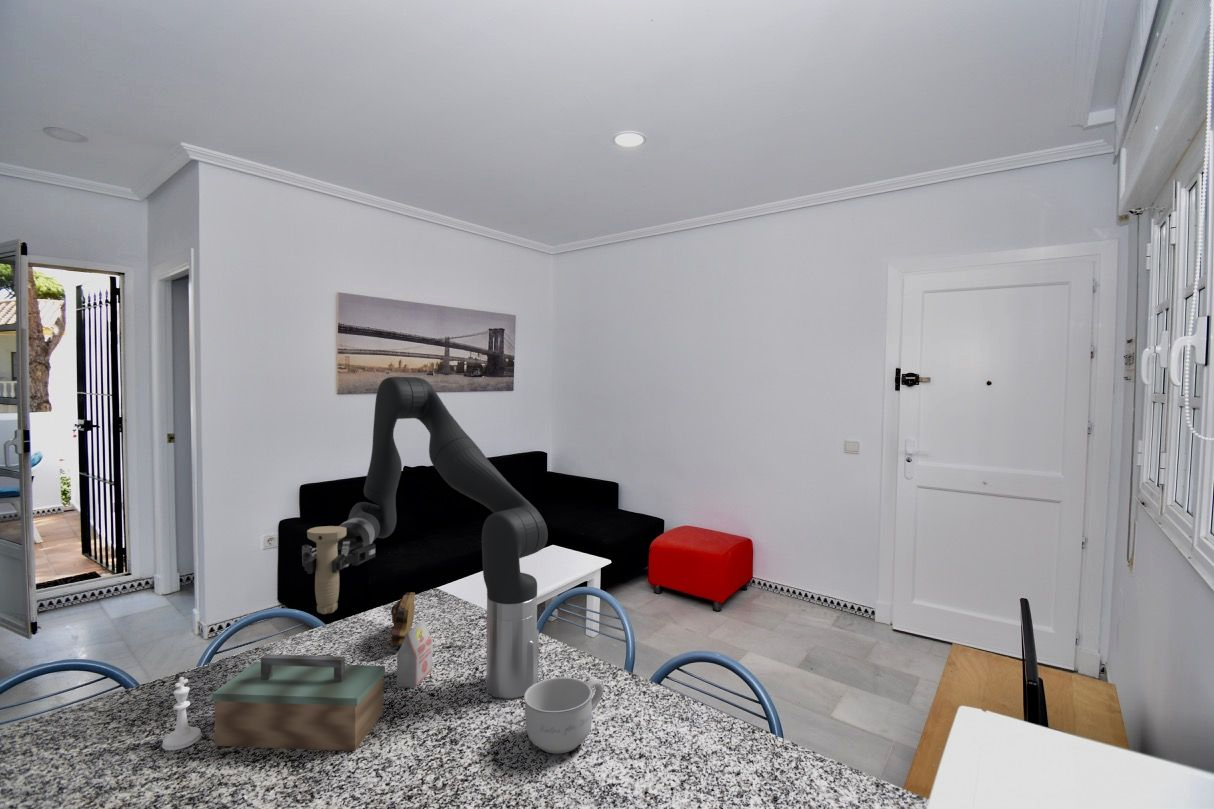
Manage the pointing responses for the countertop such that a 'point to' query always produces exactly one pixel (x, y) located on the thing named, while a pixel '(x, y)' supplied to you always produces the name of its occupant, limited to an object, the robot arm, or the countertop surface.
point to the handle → (326, 566)
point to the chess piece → (181, 722)
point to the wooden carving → (402, 618)
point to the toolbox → (299, 704)
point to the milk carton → (414, 656)
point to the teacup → (560, 712)
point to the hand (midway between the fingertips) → (321, 567)
